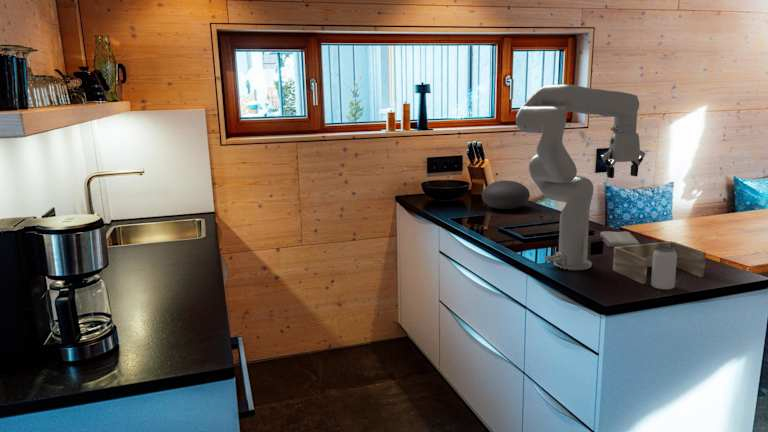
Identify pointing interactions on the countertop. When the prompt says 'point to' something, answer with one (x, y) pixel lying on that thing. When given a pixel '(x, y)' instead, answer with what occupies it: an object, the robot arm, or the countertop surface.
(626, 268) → the wooden u-shaped stand
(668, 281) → the can
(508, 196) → the flattened ellipsoid
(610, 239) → the washcloth
